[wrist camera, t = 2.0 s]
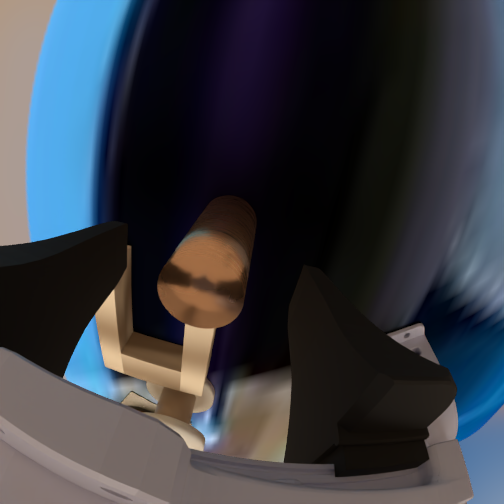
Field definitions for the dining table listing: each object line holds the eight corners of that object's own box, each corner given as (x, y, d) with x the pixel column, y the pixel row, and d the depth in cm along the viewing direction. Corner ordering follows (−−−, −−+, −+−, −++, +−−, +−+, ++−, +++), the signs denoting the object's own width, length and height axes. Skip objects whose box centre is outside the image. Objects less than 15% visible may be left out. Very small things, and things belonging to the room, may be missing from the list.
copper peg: (245, 187, 15) (222, 242, 8) (264, 237, 16) (256, 318, 10) (194, 205, 15) (142, 269, 9) (215, 252, 17) (182, 334, 10)
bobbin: (195, 360, 21) (176, 423, 16) (225, 402, 23) (216, 458, 18) (137, 367, 22) (113, 420, 17) (171, 405, 25) (156, 455, 19)
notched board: (108, 240, 17) (88, 258, 14) (228, 269, 17) (221, 293, 15) (117, 345, 21) (105, 366, 19) (207, 372, 21) (201, 396, 19)
